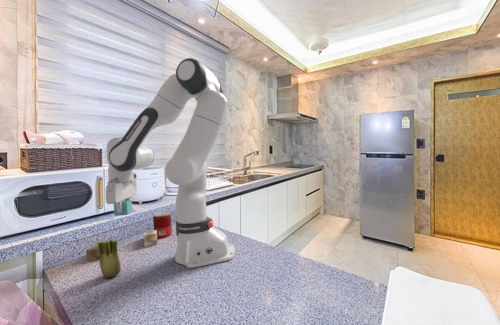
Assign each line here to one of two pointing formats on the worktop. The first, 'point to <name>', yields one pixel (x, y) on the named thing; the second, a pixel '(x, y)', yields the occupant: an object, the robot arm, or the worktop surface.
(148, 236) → the birch cube
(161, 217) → the canned food
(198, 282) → the worktop surface
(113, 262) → the fennel bulb
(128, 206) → the teal cube
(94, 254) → the walnut slab
